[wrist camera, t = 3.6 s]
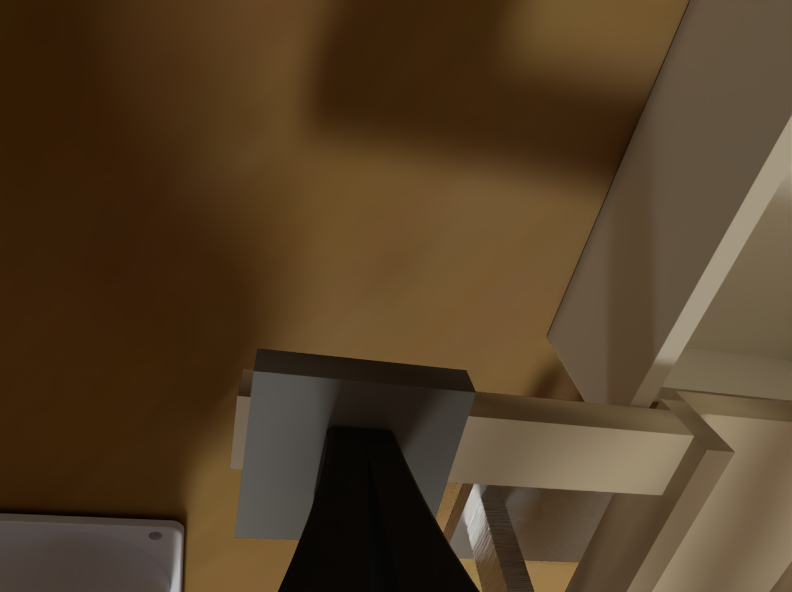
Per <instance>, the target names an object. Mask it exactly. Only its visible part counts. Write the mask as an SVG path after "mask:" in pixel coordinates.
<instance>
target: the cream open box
mask: <svg viewBox="0 0 792 592" xmlns="http://www.w3.org/2000/svg"><path fill="white" fill-rule="evenodd" d="M547 339H548V341H549V342H550V344H551V346H552V347H553V349H554V351H555V352H556V354H557V356H558V358H559V359H560V361H561V363H562V364H563V366H564V368H565V369H566V371H567V373H568V374H569V376H570V378H571V379H572V381H573V383H574V385H575V386H576V388H577V390H578V391H579V393H580V395H581V396H582V398H583V400H584V401H585V402H589V403H599V404H609V405H619V406H630V407H640V408H649V407H650V406H651V404H652V402H653V401H654V402H659V401H660V399H666V400H671V399H672V397H673V395H674V393H675V391H683V392H692V393H702V394H711V395H721V396H730V397H739V398H749V399H758V400H768V401H777V402H787V403H792V0H690V2H689V4H688V7H687V9H686V11H685V14H684V16H683V18H682V21H681V23H680V25H679V28H678V30H677V33H676V35H675V37H674V40H673V42H672V44H671V47H670V49H669V51H668V54H667V56H666V58H665V61H664V63H663V65H662V68H661V70H660V72H659V75H658V77H657V79H656V82H655V84H654V87H653V89H652V91H651V94H650V96H649V98H648V101H647V103H646V105H645V108H644V110H643V112H642V115H641V117H640V119H639V122H638V124H637V126H636V129H635V131H634V133H633V136H632V138H631V140H630V143H629V145H628V148H627V150H626V152H625V155H624V157H623V159H622V162H621V164H620V166H619V169H618V171H617V173H616V176H615V178H614V180H613V183H612V185H611V187H610V190H609V192H608V194H607V197H606V199H605V201H604V204H603V206H602V209H601V211H600V213H599V216H598V218H597V220H596V223H595V225H594V227H593V230H592V232H591V234H590V237H589V239H588V241H587V244H586V246H585V248H584V251H583V253H582V255H581V258H580V260H579V263H578V265H577V267H576V270H575V272H574V274H573V277H572V279H571V281H570V284H569V286H568V288H567V291H566V293H565V295H564V298H563V300H562V302H561V305H560V307H559V309H558V312H557V314H556V316H555V319H554V321H553V324H552V326H551V328H550V331H549V333H548V335H547Z"/></svg>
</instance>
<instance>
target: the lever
mask: <svg viewBox="0 0 792 592" xmlns="http://www.w3.org/2000/svg"><path fill="white" fill-rule="evenodd" d="M332 426H340V427H352V428H362V429H363V428H364V429H376V430H389V431H392V432H393V433H394V434H395V436H396V438H397V441H398V443H399V446H400V448H401V450H402V453H403V455H404V457H405V460H406V462H407V464H408V466H409V468H410V471H411V473H412V475H413V477H414V479H415V481H416V483H417V485H418V487H419V489H420V491H421V493H422V495H423V497H424V499H425V501H426V503H427V505H428V506H429V508H430V510H431V512H432V514H433V516H434V518H436V515H437V512H438V509H439V506H440V503H441V499H442V496H443V493H444V490H445V487H446V484H447V482H452V483H468V484H484V485H501V486H517V487H533V488H550V489H566V490H582V491H599V492H614V494H613V496H612V498H611V500H610V502H609V504H608V506H607V508H606V510H605V512H604V514H603V516H602V518H601V520H600V522H599V524H598V526H597V528H596V530H595V532H594V534H593V536H592V538H591V540H590V542H589V544H588V546H587V548H586V550H585V552H584V554H583V556H582V558H581V560H580V562H579V564H578V566H577V568H576V570H575V572H574V574H573V576H572V578H571V580H570V582H569V584H568V586H567V588H566V590H565V592H792V403H787V402H777V401H768V400H758V399H749V398H739V397H730V396H721V395H711V394H702V393H692V392H683V391H675V393H674V395H673V397H672V399H671V400H666V399H660V401H659V403H658V405H657V407H656V409H650V408H640V407H630V406H619V405H609V404H599V403H589V402H578V401H568V400H558V399H547V398H537V397H527V396H517V395H506V394H496V393H486V392H476V391H475V389H474V387H473V385H472V382H471V380H470V378H469V375H468V373H467V371H466V370H458V369H448V368H439V367H429V366H420V365H410V364H401V363H391V362H382V361H372V360H363V359H353V358H344V357H334V356H325V355H315V354H306V353H296V352H287V351H277V350H268V349H258V350H257V355H256V360H255V366H254V370H250V369H243V372H242V376H241V381H240V386H239V390H238V395H237V404H236V414H235V424H234V434H233V443H232V453H231V463H230V469H239V470H242V477H241V486H240V495H239V504H238V512H237V521H236V530H235V538H262V539H289V540H300V538H301V535H302V533H303V530H304V527H305V525H306V522H307V519H308V517H309V514H310V511H311V508H312V504H313V499H314V490H315V485H316V479H317V474H318V469H319V464H320V459H321V455H322V450H323V445H324V440H325V435H326V430H327V429H329V428H330V427H332Z"/></svg>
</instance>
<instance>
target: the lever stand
mask: <svg viewBox="0 0 792 592" xmlns="http://www.w3.org/2000/svg"><path fill="white" fill-rule="evenodd" d="M613 494H614V492H599V491H582V490H566V489H550V488H533V487H517V486H501V485H484V484H468V483H464V484H463V486H462V489H461V491H460V494H459V496H458V499H457V501H456V504H455V506H454V509H453V511H452V514H451V516H450V519H449V521H448V524H447V526H446V529H445V531H444V536H445V537H446V539H447V541H448V543H449V544H450V546H451V547H452V549H453V551H454V552H455V554H456V556H457V557H458V558H467V559H475V563H476V567H477V571H478V575H479V579H480V583H481V587H482V591H483V592H534V589H533V586H532V583H531V580H530V577H529V574H528V571H527V568H526V565H525V562H524V560H530V561H562V562H580V560H581V558H582V556H583V554H584V552H585V550H586V548H587V546H588V544H589V542H590V540H591V538H592V536H593V534H594V532H595V530H596V528H597V526H598V524H599V522H600V520H601V518H602V516H603V514H604V512H605V510H606V508H607V506H608V504H609V502H610V500H611V498H612V496H613Z"/></svg>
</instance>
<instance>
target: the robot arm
mask: <svg viewBox="0 0 792 592" xmlns="http://www.w3.org/2000/svg"><path fill="white" fill-rule="evenodd" d="M183 550H184V526H183V525H182V524H181V523H179V522H177V521H172V520H150V519H126V518H102V517H78V516H54V515H31V514H7V513H0V592H182V577H183ZM278 592H480V591H479V590H478V588H477V587H476V585H475V584H474V582H473V581H472V579H471V578H470V576H469V575H468V573H467V572H466V570H465V569H464V567H463V565H462V564H461V562H460V561H459V559H458V557H457V556H456V554H455V552H454V551H453V549H452V547H451V546H450V544H449V543H448V541H447V539H446V537H445V536H444V534H443V532H442V530H441V529H440V527H439V525H438V523H437V521H436V519H435V518H434V516H433V514H432V512H431V510H430V508H429V506H428V505H427V503H426V501H425V499H424V497H423V495H422V493H421V491H420V489H419V487H418V485H417V483H416V481H415V479H414V477H413V475H412V473H411V471H410V468H409V466H408V464H407V462H406V460H405V457H404V455H403V453H402V450H401V448H400V446H399V443H398V441H397V438H396V436H395V434H394V433H393V432H392V431H389V430H376V429H364V428H363V429H362V428H352V427H340V426H332V427H330V428H329V429H327V430H326V435H325V440H324V445H323V450H322V455H321V459H320V464H319V469H318V474H317V479H316V485H315V490H314V499H313V504H312V508H311V511H310V514H309V517H308V519H307V522H306V525H305V527H304V530H303V533H302V535H301V538H300V540H299V543H298V546H297V548H296V551H295V553H294V556H293V558H292V561H291V563H290V565H289V568H288V570H287V572H286V575H285V577H284V579H283V581H282V584H281V586H280V588H279V590H278Z"/></svg>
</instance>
